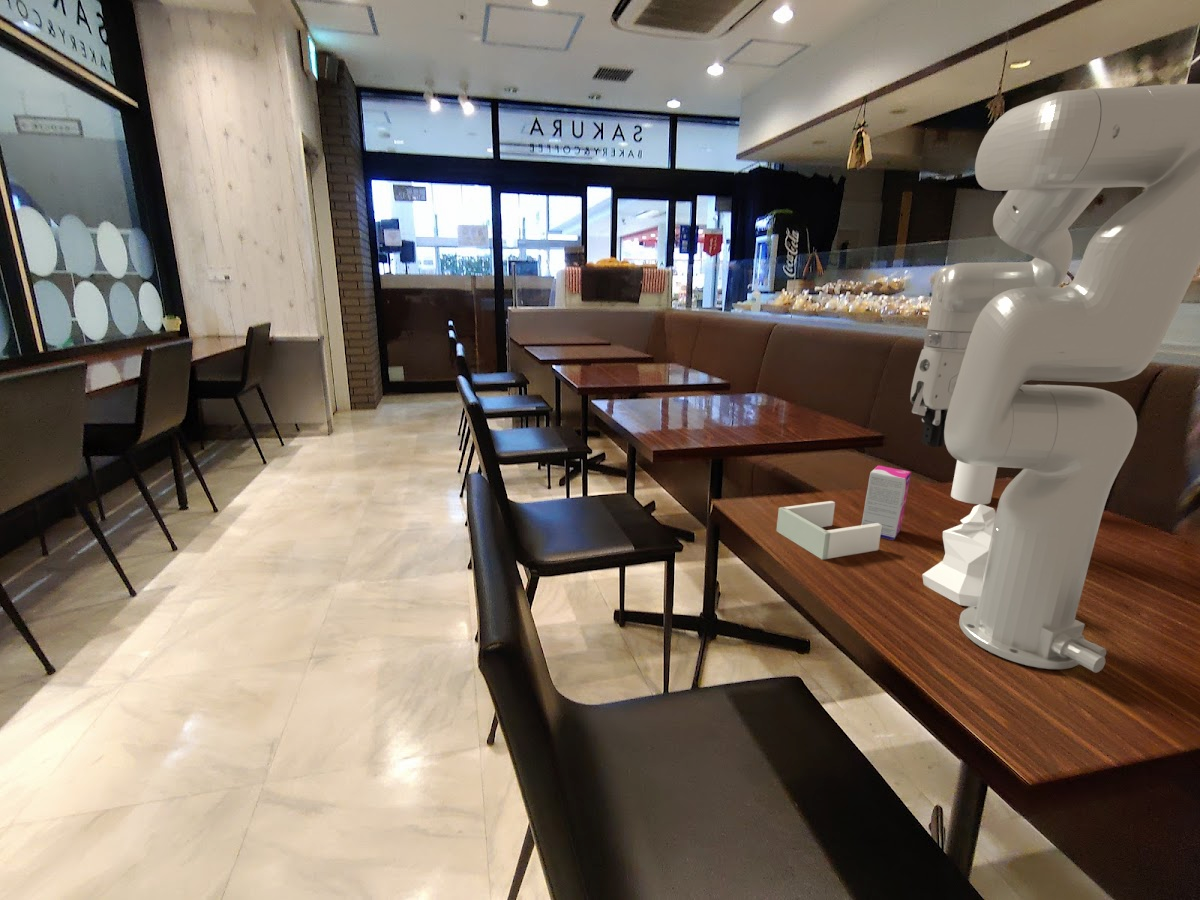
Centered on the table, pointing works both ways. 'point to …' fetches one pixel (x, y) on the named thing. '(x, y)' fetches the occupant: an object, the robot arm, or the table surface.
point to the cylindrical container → (973, 483)
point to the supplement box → (886, 499)
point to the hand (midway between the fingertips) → (931, 444)
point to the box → (825, 531)
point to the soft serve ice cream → (963, 558)
